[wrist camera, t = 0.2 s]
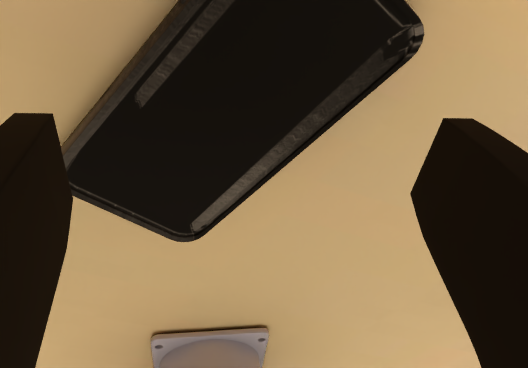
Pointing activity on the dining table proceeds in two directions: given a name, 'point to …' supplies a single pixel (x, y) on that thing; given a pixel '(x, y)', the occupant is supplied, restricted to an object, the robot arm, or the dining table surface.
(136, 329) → the dining table surface
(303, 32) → the phone
